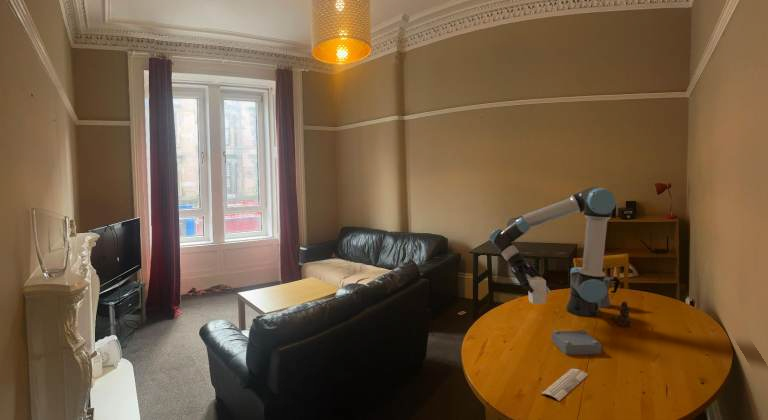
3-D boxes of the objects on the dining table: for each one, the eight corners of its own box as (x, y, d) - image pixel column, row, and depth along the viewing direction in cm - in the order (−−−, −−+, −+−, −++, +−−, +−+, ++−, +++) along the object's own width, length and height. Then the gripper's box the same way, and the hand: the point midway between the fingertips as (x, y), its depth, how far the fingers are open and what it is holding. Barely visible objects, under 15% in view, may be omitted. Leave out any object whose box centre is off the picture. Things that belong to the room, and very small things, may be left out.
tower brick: (541, 299, 193) (541, 275, 192) (545, 303, 187) (545, 278, 186) (528, 300, 193) (528, 275, 192) (532, 304, 187) (532, 279, 186)
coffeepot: (586, 306, 218) (587, 273, 216) (587, 300, 226) (587, 269, 225) (619, 309, 211) (620, 275, 209) (619, 304, 219) (619, 271, 218)
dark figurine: (629, 329, 185) (630, 303, 184) (605, 324, 192) (606, 299, 191) (638, 321, 195) (639, 296, 194) (616, 316, 202) (616, 292, 201)
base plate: (584, 339, 176) (584, 329, 175) (600, 354, 162) (601, 343, 161) (552, 340, 176) (552, 330, 176) (565, 354, 162) (565, 343, 162)
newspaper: (571, 371, 150) (571, 367, 150) (591, 378, 145) (591, 373, 145) (540, 396, 134) (541, 391, 134) (562, 405, 129) (562, 400, 129)
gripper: (520, 257, 207) (550, 295, 196) (495, 265, 194) (525, 305, 183) (530, 248, 202) (560, 286, 191) (504, 255, 189) (536, 296, 178)
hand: (543, 295), depth 187 cm, fingers closed on tower brick, 8 cm apart
